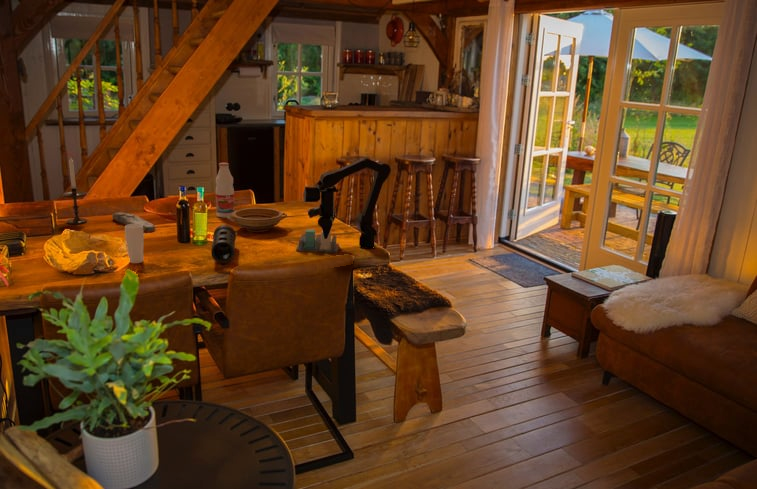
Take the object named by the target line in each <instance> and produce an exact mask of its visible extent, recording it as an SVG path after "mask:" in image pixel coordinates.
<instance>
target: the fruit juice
mask: <svg viewBox="0 0 757 489" xmlns="http://www.w3.org/2000/svg"><path fill="white" fill-rule="evenodd" d="M218 166H219V170H218V172H217V175H216V177H215V184H216V187H215V212H216V216H217V217H218V218H222V219H223V218H224V219H225V218H227V217H228V216H231V217H233V215H232V213H233V212H235V211H236V210H235V189H234V185H233V184H234V176H232V173H231V171H230V168H229V167H230V164H229V163H228V162H220V163H218Z"/></svg>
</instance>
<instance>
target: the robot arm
mask: <svg viewBox="0 0 757 489" xmlns="http://www.w3.org/2000/svg"><path fill="white" fill-rule="evenodd" d="M364 169H370V170H372V171H373V172H372V173H373V174H372V175H373V177H372V178H373V180H372V184H371V187H370V190H369V193H368V196H367V199H366V202H365V205H364V208H363V209H362V212H361V213H360V212H357V215H356V216H357V217H356V219H355V224H356V227H357V228H358V229H359V231H360V235H359V248H360V249H369V248H373V247H374V245H375V246H376V244H375V241H376V238H375V236H377V233H378V231H377V230H376V229H375V228H374V227H373V223H374V212H375V209H376V206H377V203H378V200H379V196H380V194H381V190H382V187H383V185H384V183H385V181H387V180H388V178H389V176H390V174H391V171H392V170H391V166H390V165H389V164H387V163H385V162H384V161H378V162H377V161H374V160H372V159H369V158H368V157H366V156H364V157H361V158H360V159H358V160H356V161H354V162H352V163H349V164H348V165H345V166H343V167H341V168H338V169H335V170H329V171H325V172H323V173H321V175H320V177H319V180H318V181H317V183H316V184H315V185H314V186H304V189H303V193H302V197H303V199H302V200H303V202H304V203H318V202H319V201H320V204H319V206H316V207H311V208H309V209H308V210H307V215H308V217H309V219H312V218H314V217H317V216H319V218H318V220H317V226H319V227H320V228H321V231H322V230H323V235H324V239H327V237H328V235H329V232H330V230H331V231H332V227H333V224H334V221H335V219H336V215H337V211H336V210H335V208H334V207H335V193H338V192H339V191H340V190H339V189H338V188H337V187H336V186H335V185H337V184H339V183H340V181H342V180H343V179H345V178H346V177H349V176H351V175H353V174H355V173H358V172H360V171H361V170H364ZM374 248H375V247H374Z"/></svg>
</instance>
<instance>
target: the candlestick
mask: <svg viewBox="0 0 757 489" xmlns="http://www.w3.org/2000/svg"><path fill="white" fill-rule="evenodd" d="M68 156H69V160H68V166H69V167H68V168H69V175H70V184H71V186H70V187H69V190H70V189H71V190H70V191H65V192H62V193H61V196H62V197H63V198H68V199H69V198H70V199H73V206H72V209H73V210H74V211H73V214H74V218H70V219H67V220H66V224H68V225H75V226H76V225H82V224H87V223H88V219H87V218H84V217H83V218H82V217H80V216H79V213H80V211H79V209H80V206H78V202H77V201H78V200H77V199H78V198H83V197H86V196H88V192H87V191H83V190H82V191H81V190H77V189H79V187H77V184H76V176H75V166H74V165H75V163H74V160H73V158H72V152H71V151H70V150H68Z"/></svg>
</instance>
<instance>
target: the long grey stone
mask: <svg viewBox="0 0 757 489" xmlns="http://www.w3.org/2000/svg"><path fill="white" fill-rule="evenodd" d="M111 217H112V220H113V219H114V220H115V221H116V222H118V224H123V225H125V226H126V225H128V224H141V225H143V233H151V232H155V231H156V227H155V224H153V223H151V222H150V221H147V220H145V219H143V218H142V217H140V216H139V215H136V214H134V213H127V212H121V211H118V212H114V213H112V215H111Z"/></svg>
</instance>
